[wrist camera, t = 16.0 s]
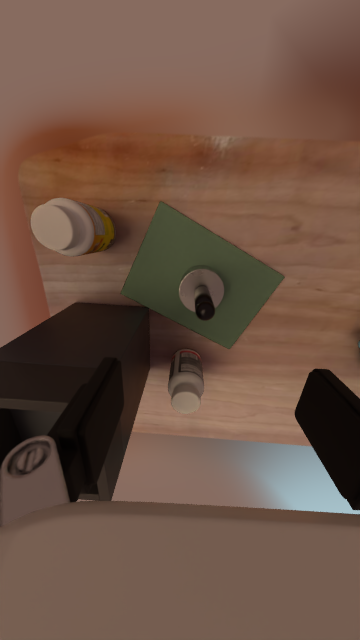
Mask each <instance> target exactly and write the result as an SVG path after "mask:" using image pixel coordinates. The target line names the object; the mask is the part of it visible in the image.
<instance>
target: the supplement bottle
mask: <svg viewBox="0 0 360 640" xmlns="http://www.w3.org/2000/svg"><path fill="white" fill-rule="evenodd" d="M31 228H32V231H33V234H34V235H35V237H36V239H37V240H38V241H39V242H40V243H41V244H42V245H43V246H45V247H46V248H49V249H51V250H55V251H56V252H58V253H60V254H62V255H65V256H80V255H85V254H90V253H94V252H99V251H103V250H106V249H108V248H109V247H110V246H111V245H112V244H113V242H114V240H115V236H116V229H115V225H114V222H113V220H112V219H111V217H110V216H109V215H108V214H107V213H106V212H105V211H104V210H102V209H100V208H97V207H94V206H91V205H88V204H84V203H81V202H77V201H74V200H70V199H66V198H55V199H52V200H50V201H48V202H47V203H45V204H43V205H40V206H38V207H37V208H35V210H34V211H33V213H32V215H31Z"/></svg>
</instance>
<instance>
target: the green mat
mask: <svg viewBox="0 0 360 640" xmlns="http://www.w3.org/2000/svg"><path fill="white" fill-rule="evenodd" d="M197 265H205V266H208V267H210V268H212V269H213V270H215V271H216V273H217V274H218V275H219V277H220V278H221V280H222V282H223V285H224V296H223V299H222V301H221V302H220V304H219V305H218V306H217V307H216V308H215V315H214V316H213V318H212V319H210V320H207V321H203V320H200V319H199V318H198V317H197V316H196V313H195V312H193V311H191V310H189V309H187V308H186V307H185V306H184V305H183V303H182V302H181V300H180V297H179V286H180V281H181V278H182V276H183V274H184V273H185V272H186V271H187V270H188V269H190V268H191V267H194V266H197ZM283 279H284V276H283V275H281V274H279V273H278V272H276V271H275V270H273V269H271V268H270V267H268V266H266V265H265V264H263V263H261V262H260V261H258V260H256V259H255V258H253V257H252V256H250V255H248V254H247V253H245V252H243V251H242V250H240V249H238V248H237V247H235V246H233V245H232V244H230V243H228V242H227V241H225V240H224V239H222V238H220V237H219V236H217V235H215V234H214V233H212V232H210V231H209V230H207V229H205V228H204V227H202V226H201V225H199V224H197V223H196V222H194V221H192V220H191V219H189V218H187V217H186V216H184V215H182V214H181V213H179V212H178V211H176V210H174V209H173V208H171V207H169V206H168V205H166V204H164V203H163V202H161V201H160V203H159V205H158V208H157V210H156V212H155V215H154V217H153V219H152V222H151V224H150V226H149V229H148V231H147V233H146V236H145V238H144V240H143V242H142V245H141V247H140V249H139V252H138V254H137V256H136V259H135V261H134V263H133V266H132V268H131V270H130V273H129V275H128V277H127V279H126V282H125V284H124V286H123V289H122V291H121V294H122V295H124V296H126V297H128V298H130V299H132V300H134V301H136V302H138V303H140V304H142V305H144V306H146V307H148V308H150V309H152V310H153V311H155V312H157V313H159V314H161V315H163V316H165V317H167V318H169V319H171V320H173V321H175V322H177V323H179V324H181V325H183V326H185V327H187V328H189V329H191V330H193V331H195V332H196V333H198V334H200V335H202V336H204V337H206V338H208V339H210V340H212V341H214V342H216V343H218V344H220V345H222V346H224V347H226V348H228V349H230V348H231V347H232V346H233V344H234V343H235V342H236V340H237V339H238V338H239V336H240V335H241V334H242V332H243V331H244V330H245V329H246V327H247V326H248V325H249V323H250V322H251V321H252V319H253V318H254V317H255V315H256V314H257V313H258V311H259V310H260V309H261V307H262V306H263V305H264V304H265V302H266V301H267V300H268V298H269V297H270V296H271V294H272V293H273V292H274V290H275V289H276V288H277V286H278V285H279V284H280V283H281V281H282V280H283Z"/></svg>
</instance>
